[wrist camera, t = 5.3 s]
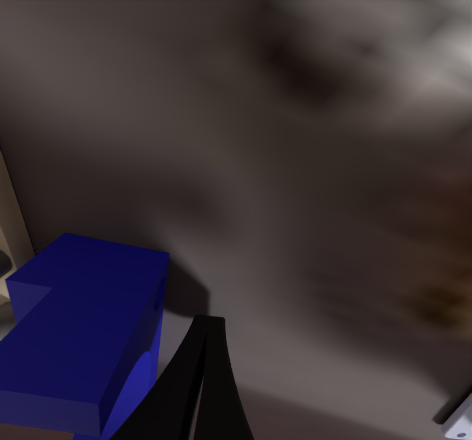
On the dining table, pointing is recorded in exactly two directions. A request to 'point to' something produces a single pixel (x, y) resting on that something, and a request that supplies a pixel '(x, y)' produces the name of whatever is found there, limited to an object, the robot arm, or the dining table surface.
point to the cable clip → (82, 336)
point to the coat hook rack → (10, 246)
